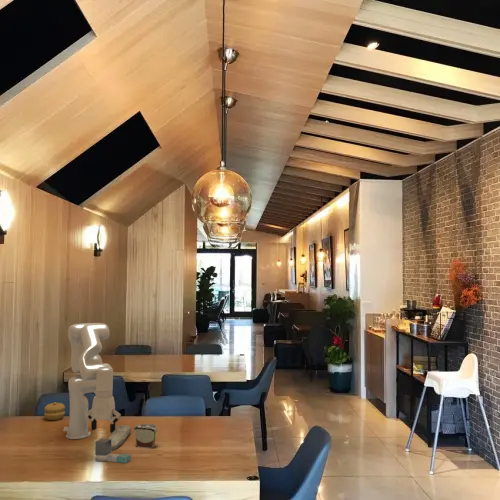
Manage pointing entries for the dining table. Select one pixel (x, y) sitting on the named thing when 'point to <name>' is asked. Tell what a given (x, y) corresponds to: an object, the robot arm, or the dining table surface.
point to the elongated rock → (119, 436)
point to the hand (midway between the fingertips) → (103, 430)
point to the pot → (54, 411)
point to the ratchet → (114, 458)
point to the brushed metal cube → (103, 447)
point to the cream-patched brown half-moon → (145, 435)
